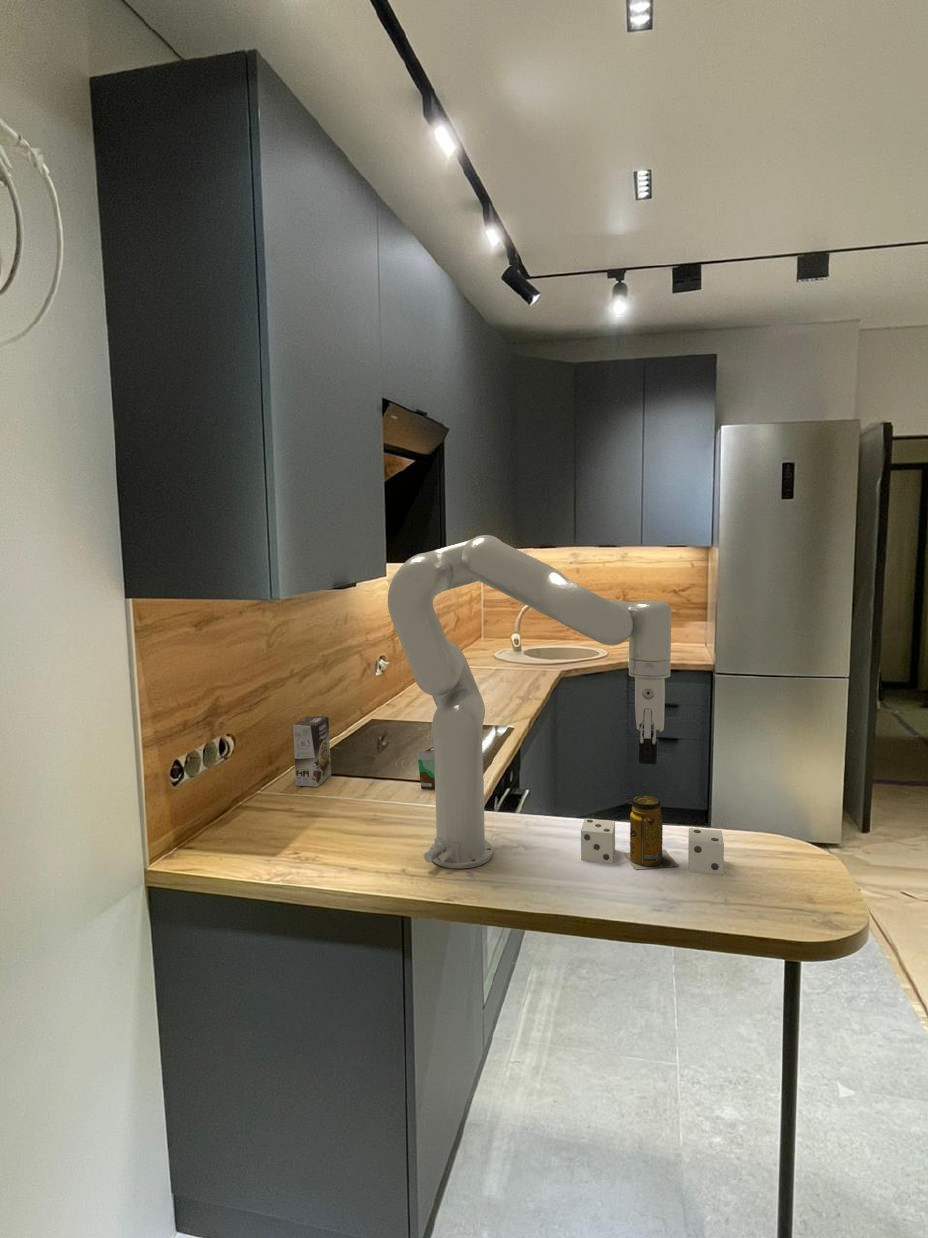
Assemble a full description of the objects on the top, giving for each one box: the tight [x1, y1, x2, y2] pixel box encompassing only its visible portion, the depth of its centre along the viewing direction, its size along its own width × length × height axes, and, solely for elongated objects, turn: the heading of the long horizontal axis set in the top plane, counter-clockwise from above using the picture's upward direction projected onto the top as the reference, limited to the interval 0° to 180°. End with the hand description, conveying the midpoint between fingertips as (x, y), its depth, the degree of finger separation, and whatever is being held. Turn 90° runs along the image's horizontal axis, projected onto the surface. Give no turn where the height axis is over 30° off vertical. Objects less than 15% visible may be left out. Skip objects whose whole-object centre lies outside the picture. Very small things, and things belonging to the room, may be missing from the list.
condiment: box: [623, 795, 680, 870], centre depth 138 cm, size 7×8×12 cm
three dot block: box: [580, 818, 616, 864], centre depth 141 cm, size 6×6×6 cm
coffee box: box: [292, 715, 332, 788], centre depth 187 cm, size 9×6×16 cm
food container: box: [415, 746, 435, 791], centre depth 181 cm, size 12×6×10 cm, turn 143°
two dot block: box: [687, 827, 725, 876], centre depth 135 cm, size 6×6×6 cm
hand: (647, 762), depth 137 cm, fingers closed
